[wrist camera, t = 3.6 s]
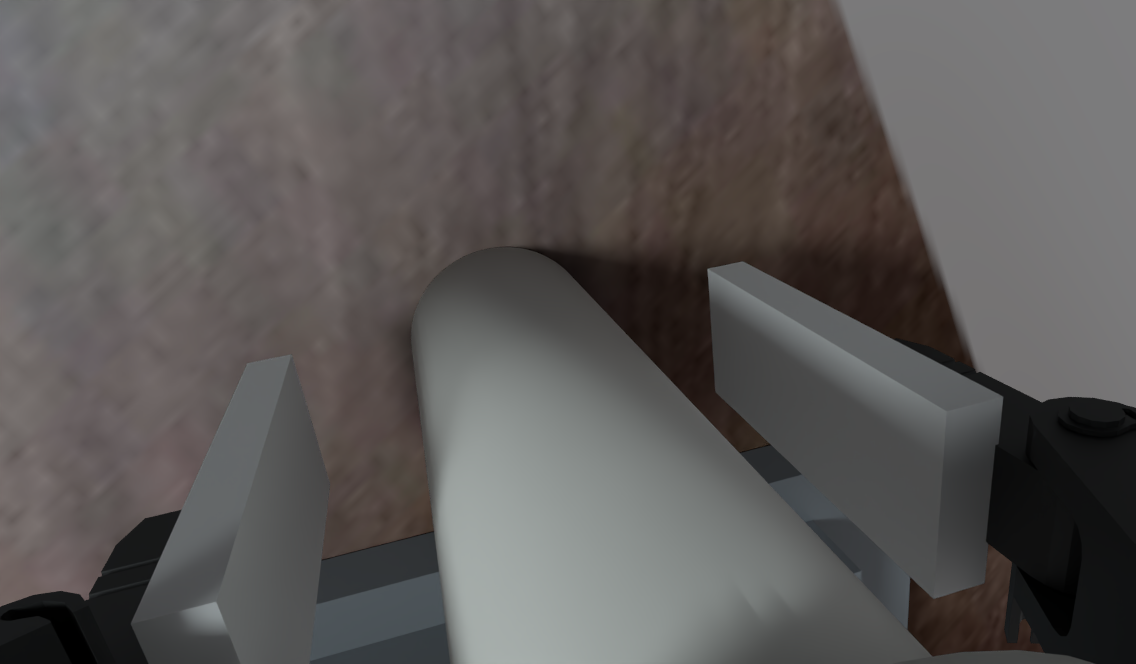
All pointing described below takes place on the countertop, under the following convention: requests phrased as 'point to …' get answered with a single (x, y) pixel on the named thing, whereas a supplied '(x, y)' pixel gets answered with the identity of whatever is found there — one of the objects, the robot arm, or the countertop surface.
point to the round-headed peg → (611, 499)
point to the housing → (414, 599)
